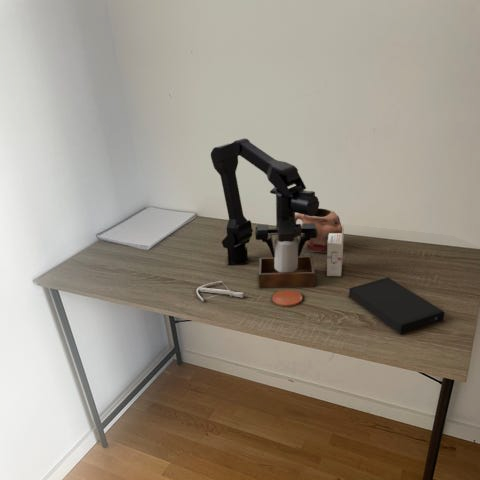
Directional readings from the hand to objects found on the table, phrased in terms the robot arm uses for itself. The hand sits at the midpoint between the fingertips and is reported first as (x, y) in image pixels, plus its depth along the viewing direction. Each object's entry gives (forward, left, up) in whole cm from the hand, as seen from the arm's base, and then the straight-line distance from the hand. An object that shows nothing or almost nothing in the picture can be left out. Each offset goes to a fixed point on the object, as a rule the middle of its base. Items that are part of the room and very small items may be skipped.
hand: (286, 256), depth 148 cm
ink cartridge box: (+16, +4, -8) cm, 18 cm away
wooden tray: (0, 0, -8) cm, 8 cm away
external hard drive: (+30, -21, -8) cm, 37 cm away
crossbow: (-21, -10, -8) cm, 24 cm away
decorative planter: (+12, +24, -8) cm, 28 cm away
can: (0, 0, -5) cm, 5 cm away
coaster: (0, -14, -8) cm, 16 cm away
